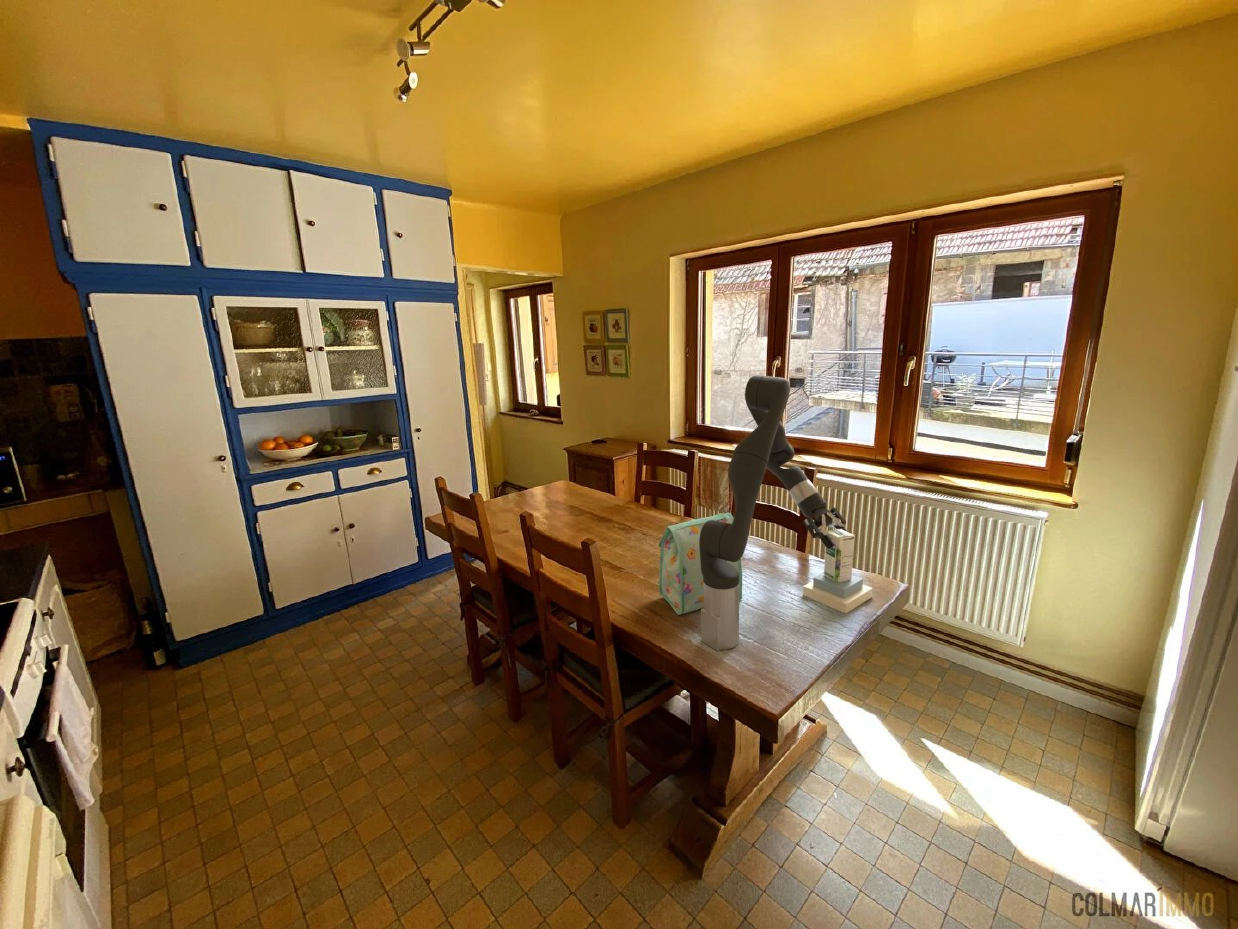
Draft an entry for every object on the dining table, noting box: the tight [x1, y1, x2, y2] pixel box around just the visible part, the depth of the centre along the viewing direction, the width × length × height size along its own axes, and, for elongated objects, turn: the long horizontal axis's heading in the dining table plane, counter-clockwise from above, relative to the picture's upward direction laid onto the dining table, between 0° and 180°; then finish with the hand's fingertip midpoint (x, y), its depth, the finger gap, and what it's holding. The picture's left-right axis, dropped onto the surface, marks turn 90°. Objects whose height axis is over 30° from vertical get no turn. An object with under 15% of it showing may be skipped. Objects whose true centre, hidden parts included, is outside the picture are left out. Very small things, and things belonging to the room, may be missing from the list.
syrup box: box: [823, 529, 856, 583], centre depth 150 cm, size 6×6×14 cm
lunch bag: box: [657, 512, 743, 616], centre depth 153 cm, size 23×16×27 cm
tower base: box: [802, 571, 873, 614], centre depth 152 cm, size 14×14×6 cm
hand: (839, 543), depth 149 cm, fingers open, 8 cm apart
